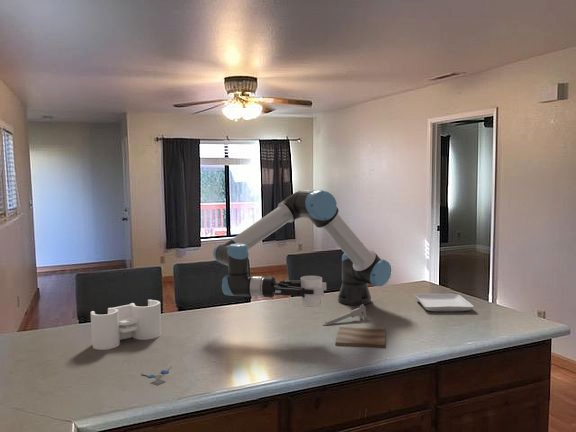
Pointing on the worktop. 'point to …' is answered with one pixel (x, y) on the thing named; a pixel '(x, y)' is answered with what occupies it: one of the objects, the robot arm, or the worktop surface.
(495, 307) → the worktop surface
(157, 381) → the key chain
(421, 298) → the salad plate
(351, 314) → the caliper
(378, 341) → the walnut board
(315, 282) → the white cup
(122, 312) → the bracket
